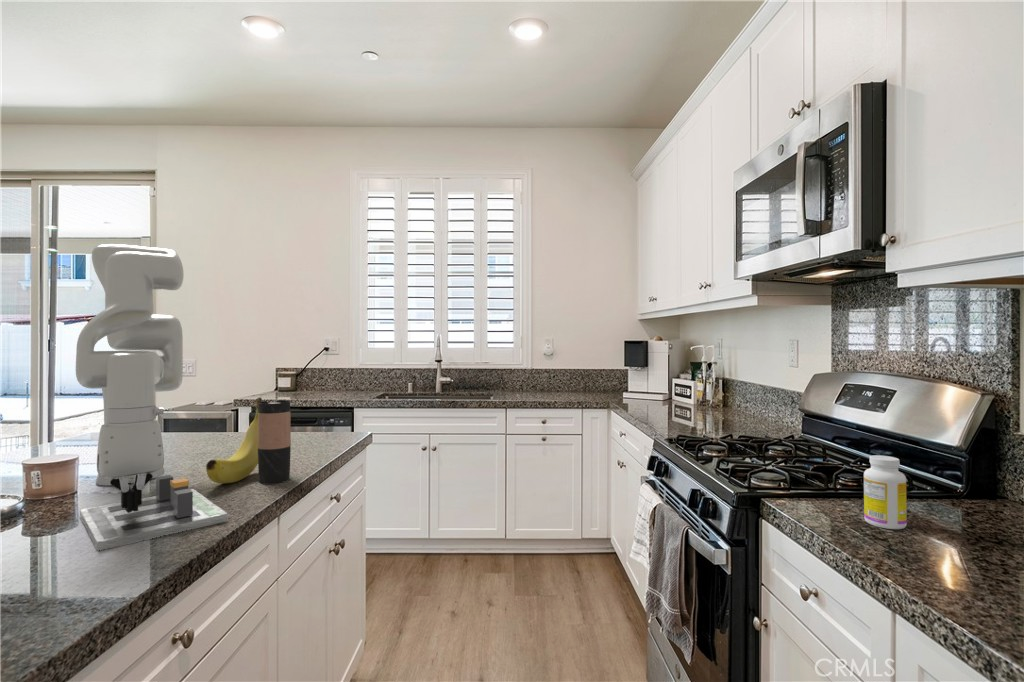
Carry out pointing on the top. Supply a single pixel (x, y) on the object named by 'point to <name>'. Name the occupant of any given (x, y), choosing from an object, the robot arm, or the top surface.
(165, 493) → the block
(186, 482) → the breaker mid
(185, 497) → the breaker near
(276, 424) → the travel mug
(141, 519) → the panel
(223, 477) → the banana
